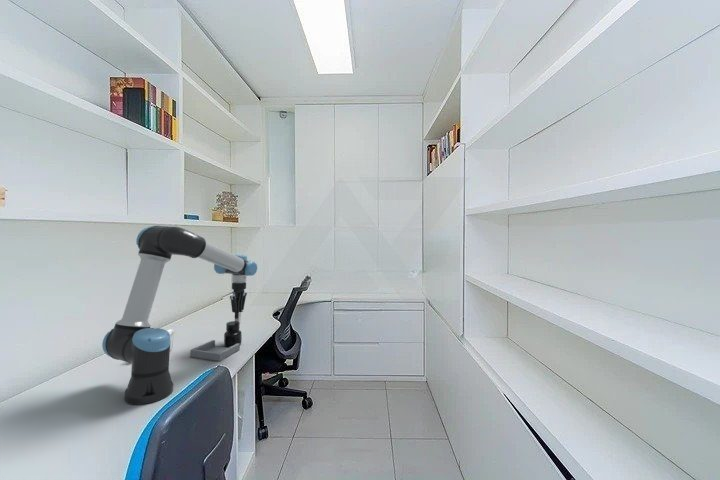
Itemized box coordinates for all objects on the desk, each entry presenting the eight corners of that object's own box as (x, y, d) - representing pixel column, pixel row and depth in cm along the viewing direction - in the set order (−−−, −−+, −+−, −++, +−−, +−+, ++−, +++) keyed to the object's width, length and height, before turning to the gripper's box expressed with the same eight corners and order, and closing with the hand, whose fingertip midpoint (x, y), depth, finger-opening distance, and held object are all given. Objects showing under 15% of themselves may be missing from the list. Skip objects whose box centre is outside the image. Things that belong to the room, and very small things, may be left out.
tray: (219, 361, 148) (219, 354, 148) (190, 357, 151) (190, 350, 151) (239, 350, 163) (239, 343, 163) (212, 346, 167) (212, 340, 167)
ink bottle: (244, 341, 175) (245, 321, 174) (237, 348, 166) (237, 326, 165) (228, 340, 176) (228, 320, 175) (220, 346, 167) (220, 325, 166)
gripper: (238, 284, 167) (236, 327, 167) (251, 281, 180) (249, 321, 180) (225, 283, 169) (224, 326, 169) (240, 280, 181) (238, 320, 182)
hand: (237, 323), depth 174 cm, fingers closed
